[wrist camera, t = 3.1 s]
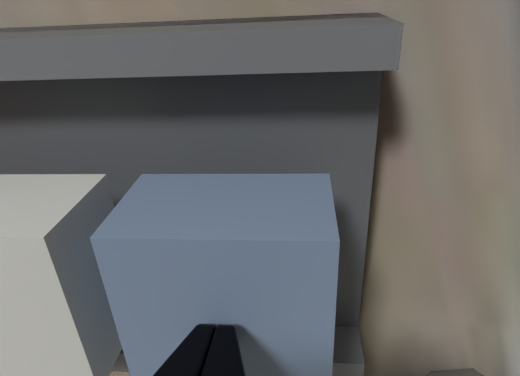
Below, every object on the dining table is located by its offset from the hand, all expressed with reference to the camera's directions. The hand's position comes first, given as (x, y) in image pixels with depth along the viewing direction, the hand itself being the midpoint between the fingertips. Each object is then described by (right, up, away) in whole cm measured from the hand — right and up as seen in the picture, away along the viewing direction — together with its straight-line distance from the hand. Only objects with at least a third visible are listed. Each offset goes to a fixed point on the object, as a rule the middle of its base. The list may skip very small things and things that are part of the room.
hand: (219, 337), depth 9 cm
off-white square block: (-6, +1, +3) cm, 7 cm away
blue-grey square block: (0, +1, +3) cm, 3 cm away
